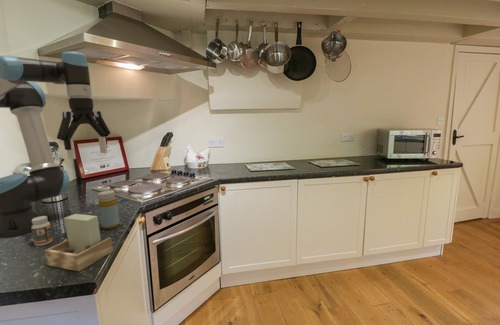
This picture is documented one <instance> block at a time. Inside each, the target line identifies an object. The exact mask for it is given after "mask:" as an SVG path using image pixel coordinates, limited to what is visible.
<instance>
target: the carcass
mask: <svg viewBox="0 0 500 325" xmlns="http://www.w3.org/2000/svg"><path fill="white" fill-rule="evenodd" d="M112 238H113V237H110V236H109V237H107V238H105V239H103V240H101V242H99V243H97V244H96V245H94V246H92V247H90V248H88V249H86V250H84V251H83V252H81V253H75V252H73V250H72V249H69V243H68V239H66V240H64V241H61V242H59V243H57V244H55V245H52V246H51V247H49V248H46V249H45V250H43V251H44V255H45V256H44V257H45V261H46V265H47V266H51V267H55V268H60V269H64V270H68V271H69V270H70V271H75V272H81V271H83V270H85V269H86V268H88V267H90V266H91V265H93V264H94V263H96V262H99V261H100V260H101V259H102V258H104V257H105V256H108V255H109V254H111V253H113V252H114V247H113V240H112Z"/></svg>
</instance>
